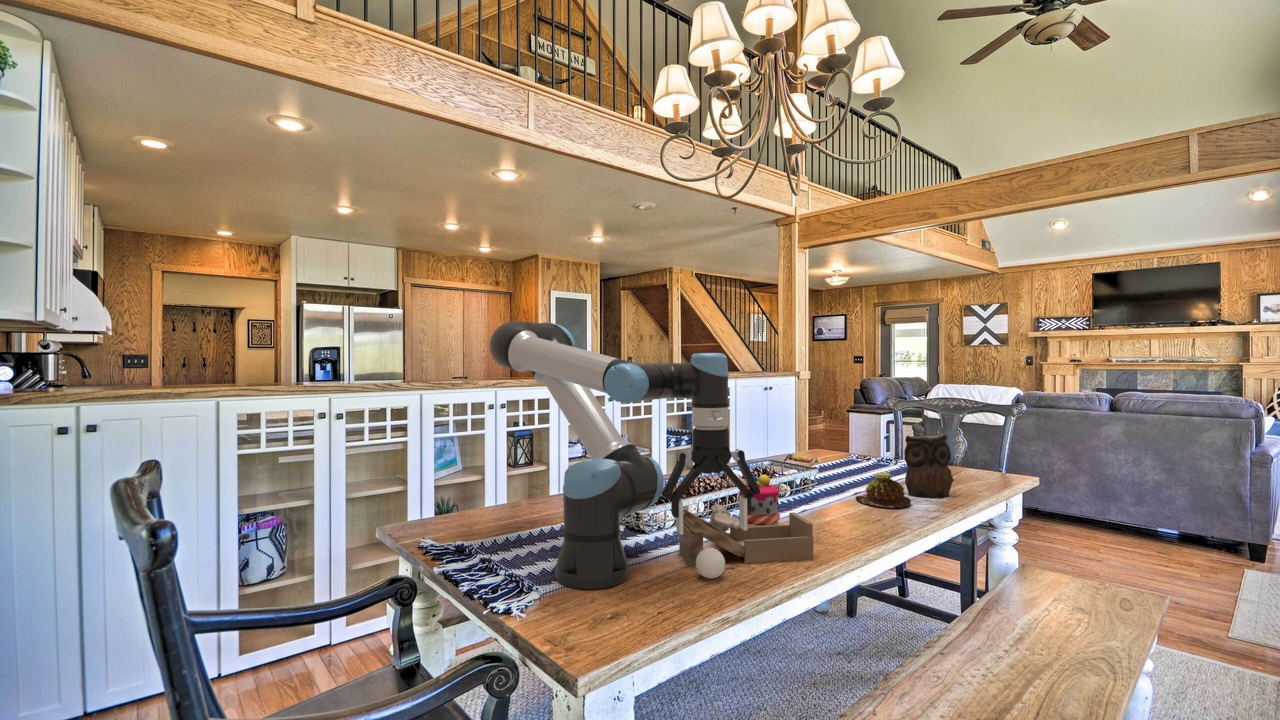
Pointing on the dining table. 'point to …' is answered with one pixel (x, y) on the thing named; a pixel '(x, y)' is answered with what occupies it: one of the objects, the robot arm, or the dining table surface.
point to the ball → (710, 563)
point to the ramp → (694, 538)
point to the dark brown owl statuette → (927, 466)
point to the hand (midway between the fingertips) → (712, 530)
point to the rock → (723, 518)
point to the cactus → (884, 492)
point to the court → (776, 541)
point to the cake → (764, 504)
